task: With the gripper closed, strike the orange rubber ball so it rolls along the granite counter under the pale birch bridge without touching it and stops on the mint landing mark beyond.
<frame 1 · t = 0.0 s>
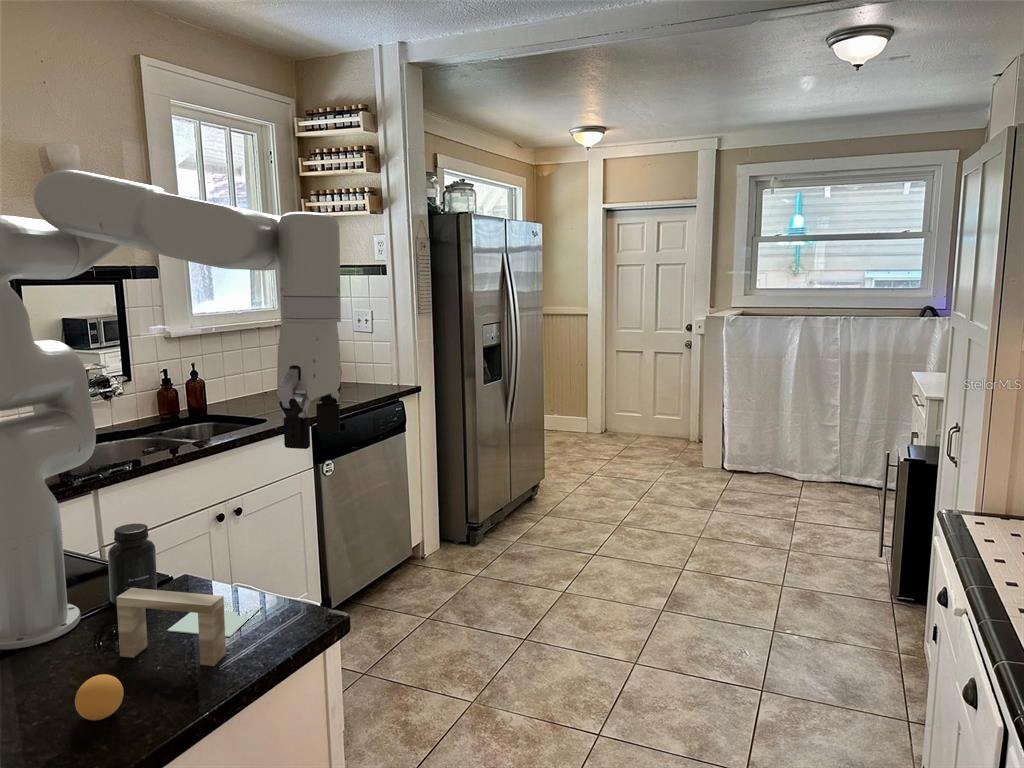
hand: (313, 439, 93), 31 cm above the worktop, tool pointing down, fingers open, 9 cm apart
supplement bottle: (134, 599, 114), on the worktop
bridge: (173, 655, 97), on the worktop
landing mark: (217, 618, 108), on the worktop
ball: (99, 697, 83), on the worktop
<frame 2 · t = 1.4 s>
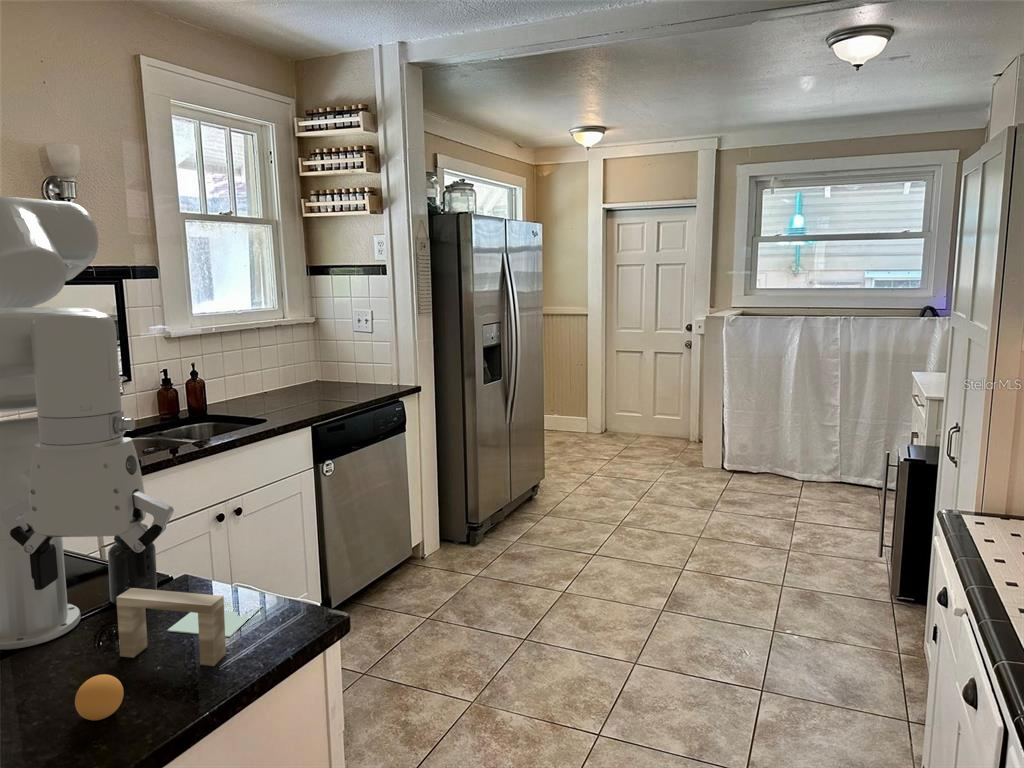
hand: (93, 583, 76), 19 cm above the worktop, tool pointing down, fingers open, 9 cm apart
nothing on the worktop moved.
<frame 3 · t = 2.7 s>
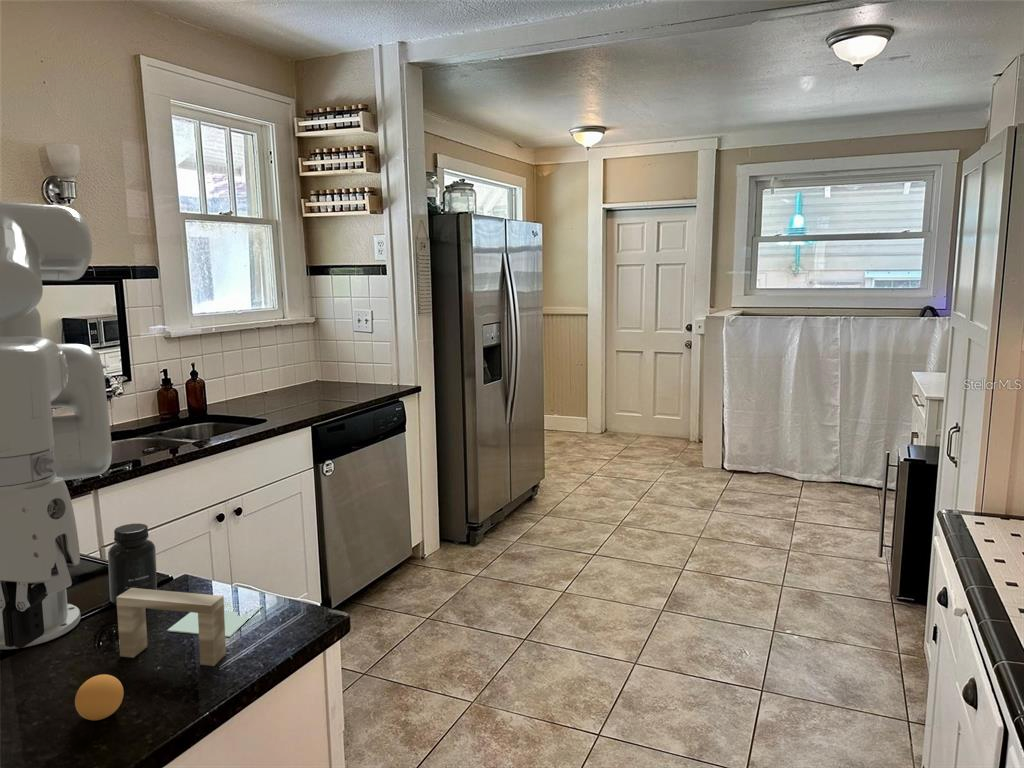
hand: (25, 640, 72), 15 cm above the worktop, tool pointing down, fingers closed
nothing on the worktop moved.
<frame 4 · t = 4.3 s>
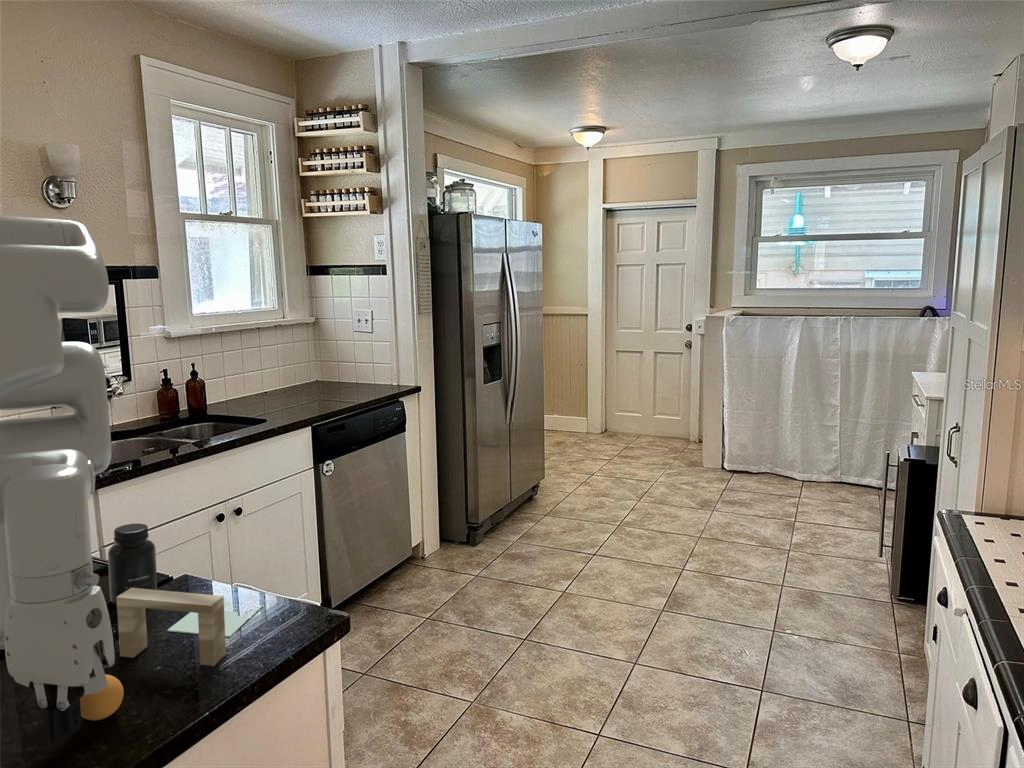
hand: (64, 734, 78), 1 cm above the worktop, tool pointing down, fingers closed
nothing on the worktop moved.
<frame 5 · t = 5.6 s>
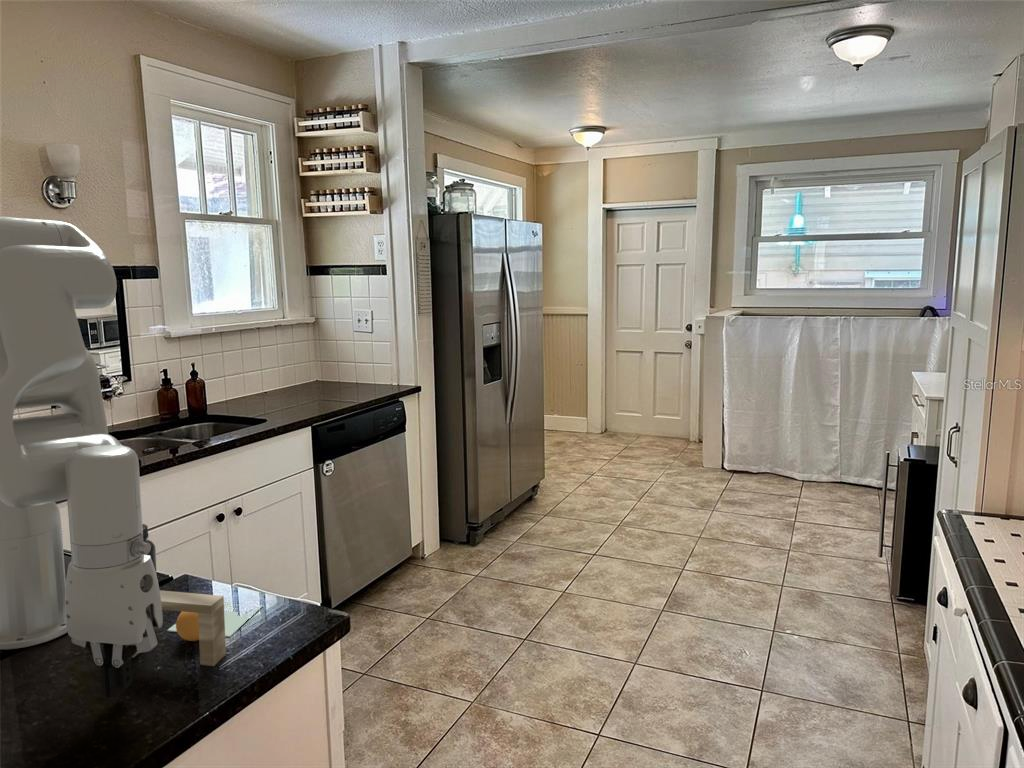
hand: (117, 690, 86), 1 cm above the worktop, tool pointing down, fingers closed
ball: (195, 622, 101), on the worktop
everything else where it was.
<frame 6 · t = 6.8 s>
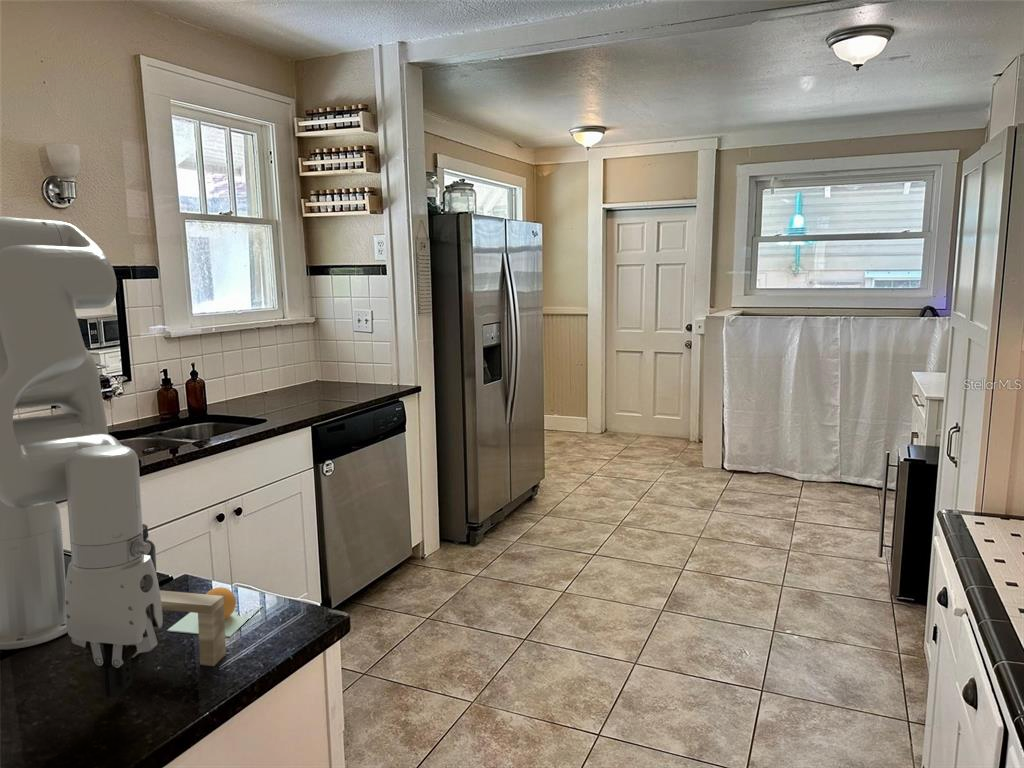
hand: (117, 690, 86), 2 cm above the worktop, tool pointing down, fingers closed
ball: (218, 604, 107), on the worktop
everything else where it was.
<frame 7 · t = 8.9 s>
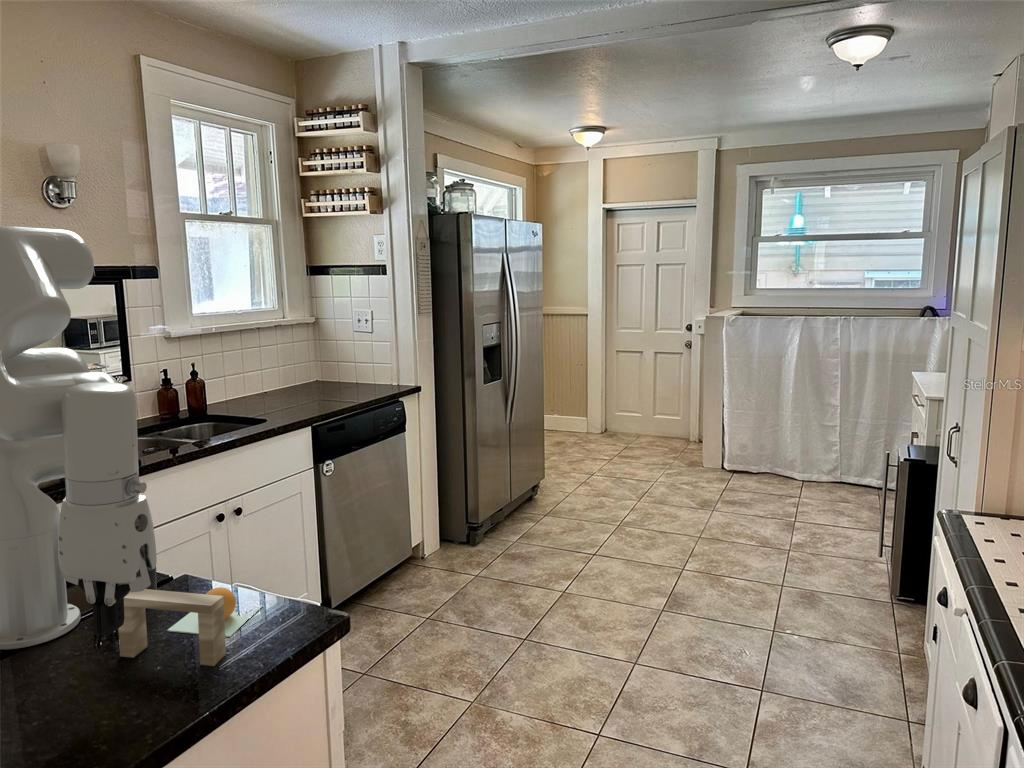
hand: (109, 629, 86), 9 cm above the worktop, tool pointing down, fingers closed
nothing on the worktop moved.
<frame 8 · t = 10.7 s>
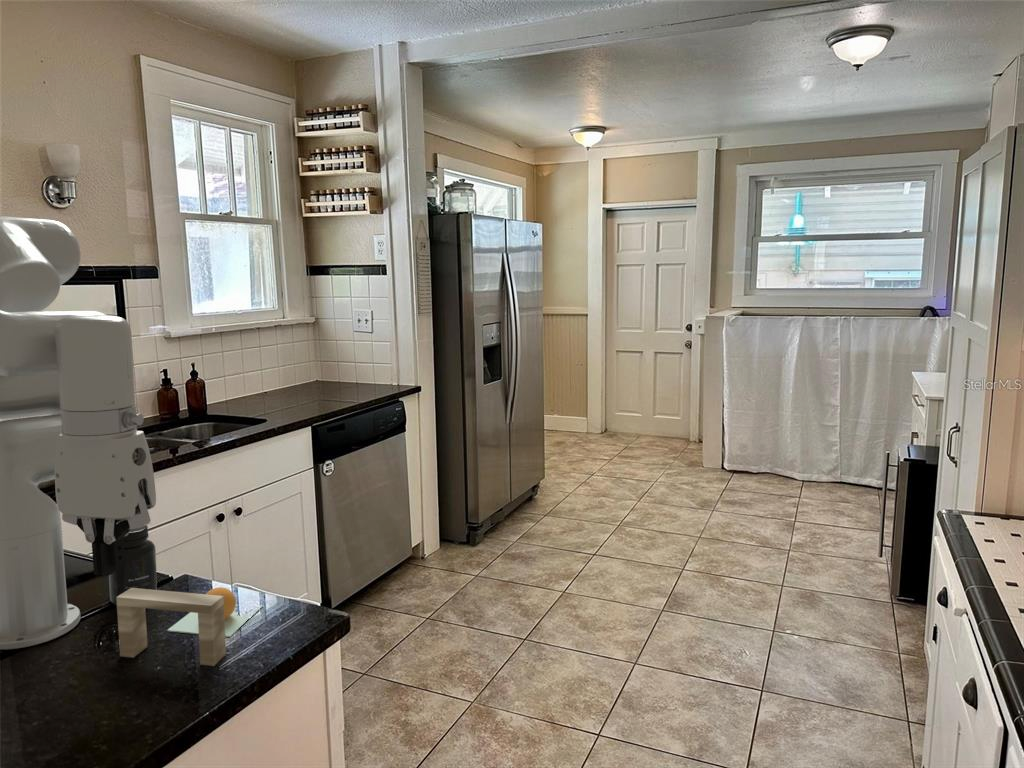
hand: (109, 570, 84), 17 cm above the worktop, tool pointing down, fingers closed
nothing on the worktop moved.
at the end: ball 0.5 cm from the landing mark (horizontally); ball never touched bridge; ball at rest at the end (0.0 cm/s) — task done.
